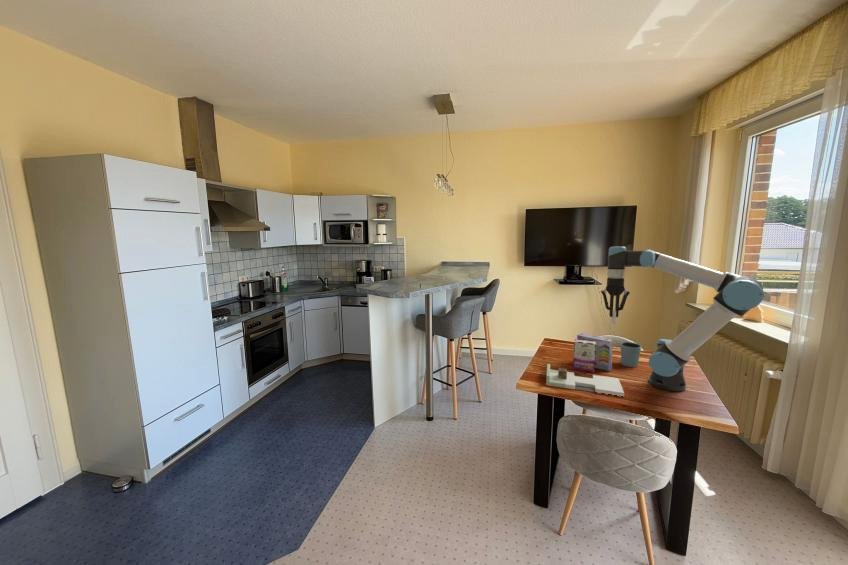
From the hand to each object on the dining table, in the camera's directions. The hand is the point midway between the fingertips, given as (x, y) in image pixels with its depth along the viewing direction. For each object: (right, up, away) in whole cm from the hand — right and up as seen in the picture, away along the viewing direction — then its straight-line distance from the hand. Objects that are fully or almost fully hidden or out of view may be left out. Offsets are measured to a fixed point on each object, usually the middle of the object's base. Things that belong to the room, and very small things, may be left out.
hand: (613, 323), depth 174 cm
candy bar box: (-7, -28, +18) cm, 34 cm away
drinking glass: (+23, -27, +24) cm, 43 cm away
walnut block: (-25, -28, +3) cm, 38 cm away
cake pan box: (0, -28, +22) cm, 36 cm away
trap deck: (-15, -31, 0) cm, 34 cm away
